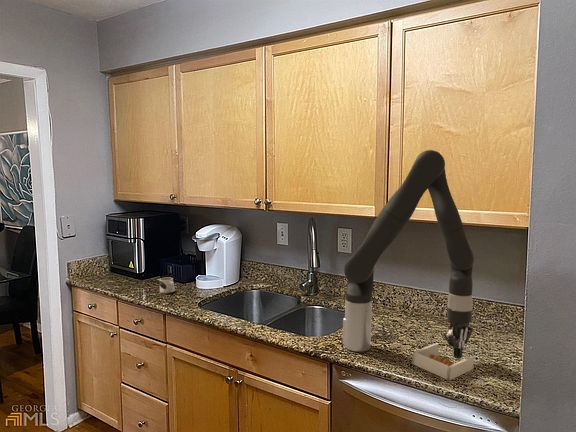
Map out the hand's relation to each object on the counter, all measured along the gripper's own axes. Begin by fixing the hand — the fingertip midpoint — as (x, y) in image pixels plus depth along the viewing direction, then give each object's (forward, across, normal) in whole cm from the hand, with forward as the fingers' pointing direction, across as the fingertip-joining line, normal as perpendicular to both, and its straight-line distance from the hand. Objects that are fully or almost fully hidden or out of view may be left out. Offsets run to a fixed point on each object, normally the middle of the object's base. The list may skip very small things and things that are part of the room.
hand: (457, 357), depth 143 cm
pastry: (+2, +9, 0) cm, 9 cm away
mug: (+1, +52, -131) cm, 141 cm away
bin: (+1, +7, 0) cm, 7 cm away
